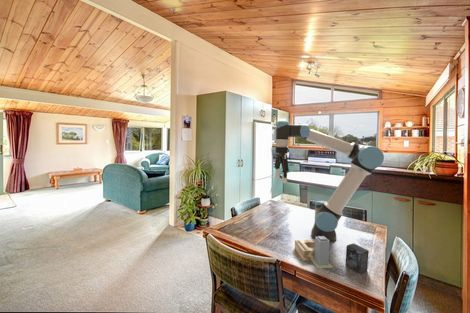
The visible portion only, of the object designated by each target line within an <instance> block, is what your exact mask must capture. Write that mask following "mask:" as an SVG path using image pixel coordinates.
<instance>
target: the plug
mask: <svg viewBox="0 0 470 313" xmlns="http://www.w3.org/2000/svg"><path fill="white" fill-rule="evenodd" d="M314 240H315V252H314V261H315V262H316V263H317V264H318V265H319V266H321V265H328V264H329V263H330V261H329V260H330V241H329V240H328V239H327V238H326V237H324V236H317V237H315V238H314Z"/></svg>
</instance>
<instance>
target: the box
mask: <svg viewBox="0 0 470 313" xmlns="http://www.w3.org/2000/svg"><path fill="white" fill-rule="evenodd" d="M368 263H369V249H366V248H365V247H362V246H360V245H358V244H356V243H355V242H354V243H351V244H347V245H346V251H345V266H347V267H348V268H350V269H352V270H353V271H355V272H356V273H358V274H362V273H363V274H364V273H366V272H368V267H369V266H368V265H369V264H368Z"/></svg>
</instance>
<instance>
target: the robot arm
mask: <svg viewBox="0 0 470 313" xmlns="http://www.w3.org/2000/svg"><path fill="white" fill-rule="evenodd" d="M275 126H276V127H275V142H274V143H275V153H276V154H275V161H274V166H273V167H274V169H275V172H274V175H275V176H274V179H275V180H280V174H281V183H282V184H287V183H288V173H289V171H290V169H289V162H288V155H287V154H288V153H289V138H298V139H302V140H305V141H308V142H310V143H313V144H316V145H319V146H321V147H324V148H326V149H328V150H331V151H334V152H337V153H339V154H341V155H344V156H345V157H346V158H348V159H351V161H350V168H349V170H348V171H347V172H346V174H345V176H344V177H343V178H342V180H341V182H339V185H338V186H337V187H336V189H335V190H334V192H333V193H332V195H331V197H329V199H328V201H326V200H317V201H315V204H314V207H315V208H314V223H313V224H314V225H313V227H312V228H311V232H310V233H311V237H312V238H313V239H315V237H317V236H324V237H326V238H327V239H328V240H329V241H330V242H334V241H336V240H337V233H336V229H337V228H338V225H339V221H340V220H341V218H342V216H343V210H344V208H345V207H346V205H347V204H348V203H349V201H350V200H351V199H352V197H353V195H355V192H356V191H357V190H358V189H359V187H360V185H361V184H362V182H364V180H365V179H366V177H367V176H369V175H372V174H373V173H374V171H375V170H376V169H378V168H379V167H380V166H381V165H382V164H383V163H384V161H385V160H384V159H385V155H384V153H383V152H384V151H382V150H381V149H380V148H379V147H377V146H374V145H368V144H367V145H365V144H359V143H356V142H351V143H350V142H348V141H345V140H343V139H339V138H337V137H334V136H332V135H328V134H327V133H326V134H325V133H322V132H320V131H317V130H314V129H311V128H310V125H309V124H290V122H289V121H286V120H281V121H277V122H276V125H275ZM281 169H282V170H281ZM280 170H281V173H280Z"/></svg>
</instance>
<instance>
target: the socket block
mask: <svg viewBox="0 0 470 313" xmlns="http://www.w3.org/2000/svg"><path fill="white" fill-rule="evenodd" d="M294 250H295V252H297V254H298V255H299V256H300V257H301V259H302V261H311V259H314V252H315V239H297V240H295V239H294Z"/></svg>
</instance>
